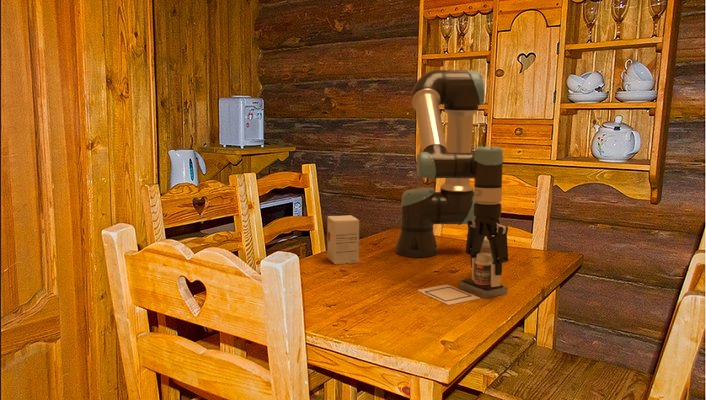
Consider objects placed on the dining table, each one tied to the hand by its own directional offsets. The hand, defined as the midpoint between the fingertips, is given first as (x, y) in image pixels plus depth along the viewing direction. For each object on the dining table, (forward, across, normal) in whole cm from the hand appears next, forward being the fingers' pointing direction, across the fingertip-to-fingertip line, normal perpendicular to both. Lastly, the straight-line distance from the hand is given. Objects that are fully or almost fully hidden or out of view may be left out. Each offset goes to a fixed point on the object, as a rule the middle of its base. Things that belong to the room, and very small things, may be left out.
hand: (485, 282), depth 158 cm
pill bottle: (+1, -1, 0) cm, 1 cm away
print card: (+3, -3, -11) cm, 12 cm away
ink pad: (+3, -1, 0) cm, 3 cm away
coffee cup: (+2, -12, +11) cm, 17 cm away
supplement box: (+1, -49, -19) cm, 53 cm away
